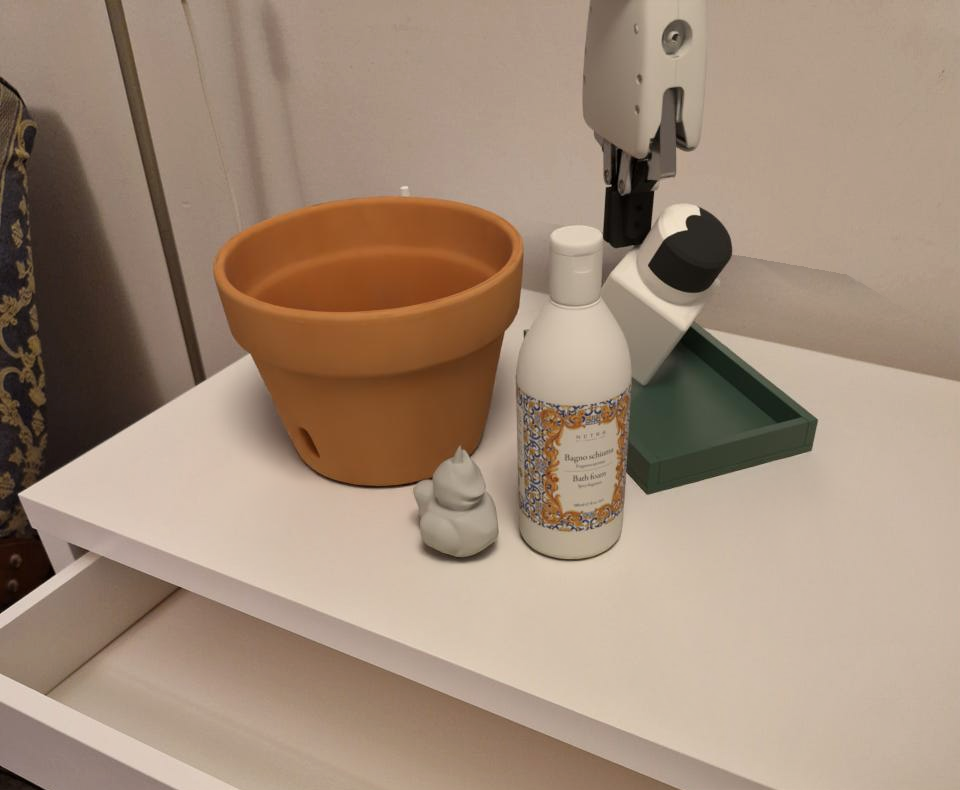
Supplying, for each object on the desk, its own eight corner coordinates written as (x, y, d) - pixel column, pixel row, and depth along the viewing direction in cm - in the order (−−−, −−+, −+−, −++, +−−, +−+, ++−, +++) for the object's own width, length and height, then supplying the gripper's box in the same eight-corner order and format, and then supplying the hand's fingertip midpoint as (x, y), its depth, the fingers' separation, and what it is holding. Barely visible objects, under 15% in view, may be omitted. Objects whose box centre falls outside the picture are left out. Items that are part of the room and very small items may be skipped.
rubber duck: (467, 582, 64) (459, 477, 59) (393, 544, 68) (380, 442, 62) (520, 541, 67) (517, 437, 62) (447, 507, 71) (438, 406, 65)
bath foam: (535, 571, 65) (531, 267, 51) (508, 511, 70) (498, 220, 56) (636, 552, 66) (659, 249, 52) (603, 494, 71) (616, 204, 57)
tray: (664, 326, 90) (666, 298, 88) (812, 450, 74) (818, 419, 72) (523, 358, 86) (523, 329, 85) (647, 494, 71) (649, 463, 69)
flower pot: (371, 349, 89) (349, 174, 79) (577, 410, 80) (581, 220, 70) (198, 463, 76) (145, 272, 66) (417, 550, 67) (395, 344, 57)
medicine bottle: (678, 341, 84) (758, 234, 74) (643, 389, 80) (722, 283, 70) (610, 290, 84) (681, 175, 74) (572, 336, 80) (640, 222, 70)
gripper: (762, -33, 60) (719, 270, 72) (646, -68, 70) (626, 202, 82) (649, -21, 58) (625, 288, 70) (547, -59, 68) (542, 216, 81)
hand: (626, 241), depth 76 cm, fingers closed
